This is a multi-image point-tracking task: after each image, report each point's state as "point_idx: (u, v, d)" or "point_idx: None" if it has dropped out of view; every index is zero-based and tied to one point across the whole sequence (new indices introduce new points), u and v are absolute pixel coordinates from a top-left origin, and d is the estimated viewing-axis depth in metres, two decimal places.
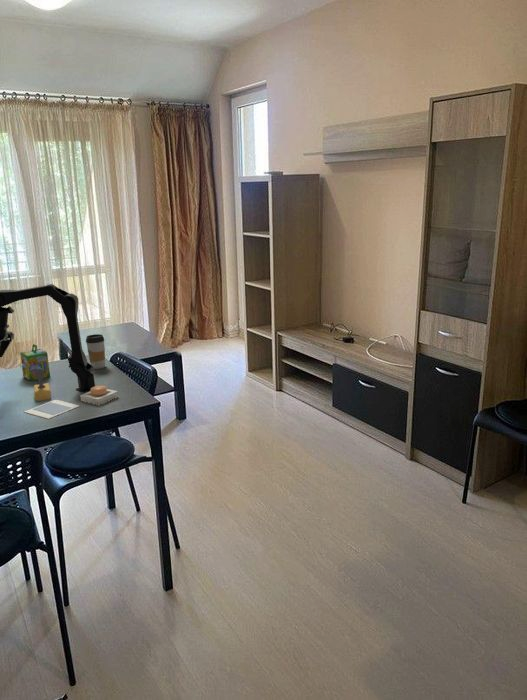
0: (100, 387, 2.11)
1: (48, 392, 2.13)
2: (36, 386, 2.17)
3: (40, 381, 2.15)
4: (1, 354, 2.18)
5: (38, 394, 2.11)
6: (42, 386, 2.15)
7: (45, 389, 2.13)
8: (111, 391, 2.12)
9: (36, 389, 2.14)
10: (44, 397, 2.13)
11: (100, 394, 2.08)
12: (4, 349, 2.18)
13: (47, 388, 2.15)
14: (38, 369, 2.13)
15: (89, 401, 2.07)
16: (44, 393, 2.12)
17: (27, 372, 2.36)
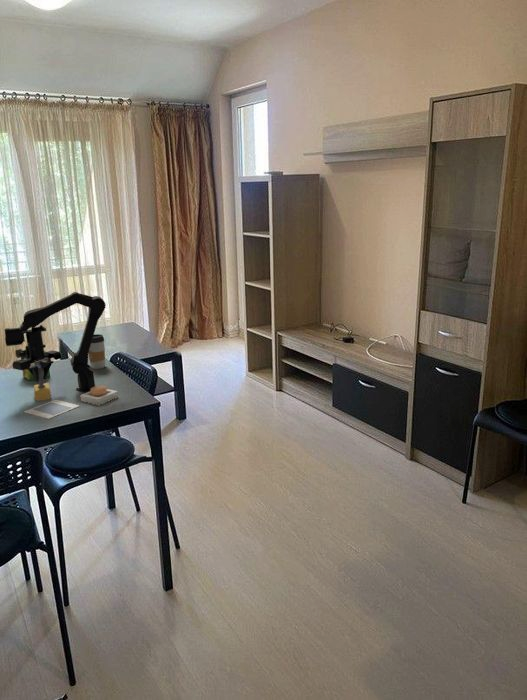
0: (100, 387, 2.11)
1: (48, 392, 2.13)
2: (36, 386, 2.17)
3: (40, 381, 2.15)
4: (44, 376, 2.16)
5: (38, 394, 2.11)
6: (42, 386, 2.15)
7: (45, 389, 2.13)
8: (111, 391, 2.12)
9: (36, 389, 2.13)
10: (44, 397, 2.13)
11: (100, 394, 2.08)
12: (45, 371, 2.15)
13: (47, 388, 2.15)
14: (38, 369, 2.13)
15: (89, 401, 2.07)
16: (44, 393, 2.12)
17: (27, 372, 2.36)
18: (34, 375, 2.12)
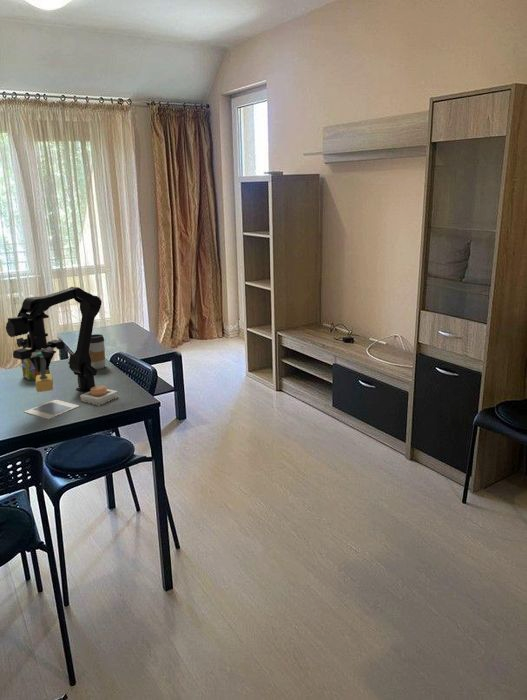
0: (100, 387, 2.11)
1: (50, 383, 2.03)
2: (38, 376, 2.08)
3: (42, 371, 2.05)
4: (46, 366, 2.06)
5: (39, 385, 2.02)
6: (44, 376, 2.05)
7: (47, 380, 2.04)
8: (111, 391, 2.12)
9: (37, 380, 2.04)
10: (46, 388, 2.03)
11: (100, 394, 2.08)
12: (47, 361, 2.05)
13: (49, 379, 2.05)
14: (40, 358, 2.03)
15: (89, 401, 2.07)
16: (46, 384, 2.02)
17: (27, 372, 2.36)
18: (36, 365, 2.02)
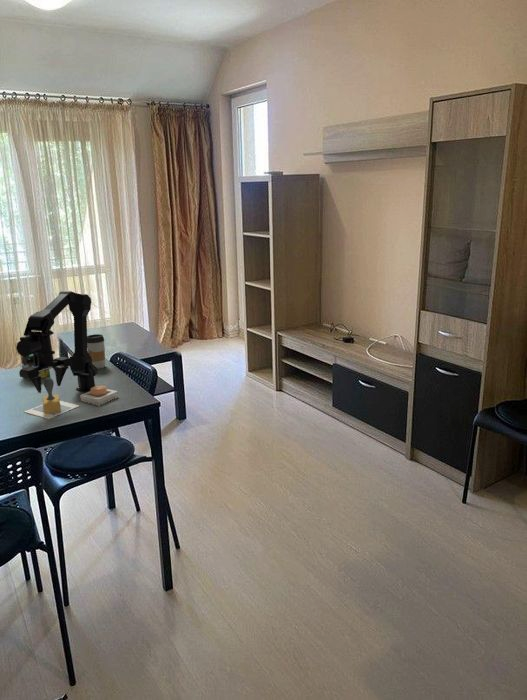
0: (100, 387, 2.11)
1: (58, 404, 1.98)
2: (45, 397, 2.03)
3: (49, 392, 2.00)
4: (58, 382, 2.03)
5: (47, 407, 1.97)
6: (51, 397, 2.00)
7: (54, 401, 1.99)
8: (111, 391, 2.12)
9: (45, 401, 1.99)
10: (53, 409, 1.98)
11: (100, 394, 2.08)
12: (60, 377, 2.02)
13: (57, 400, 2.00)
14: (47, 379, 1.98)
15: (89, 401, 2.07)
16: (54, 405, 1.98)
17: None
18: (37, 386, 1.95)
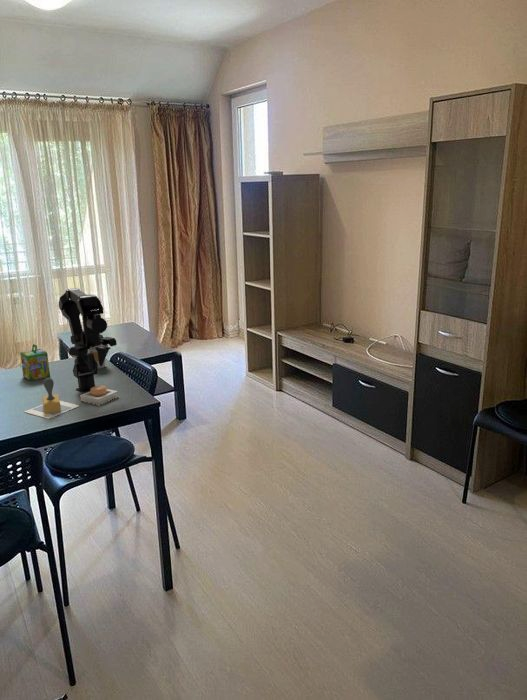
0: (100, 387, 2.11)
1: (58, 404, 1.98)
2: (45, 397, 2.03)
3: (49, 392, 2.00)
4: (101, 362, 2.09)
5: (47, 407, 1.97)
6: (51, 397, 2.00)
7: (54, 401, 1.99)
8: (111, 391, 2.12)
9: (45, 401, 1.99)
10: (53, 409, 1.98)
11: (100, 394, 2.08)
12: (102, 357, 2.08)
13: (57, 400, 2.00)
14: (47, 379, 1.98)
15: (89, 401, 2.07)
16: (54, 405, 1.98)
17: (27, 372, 2.36)
18: (88, 362, 2.04)
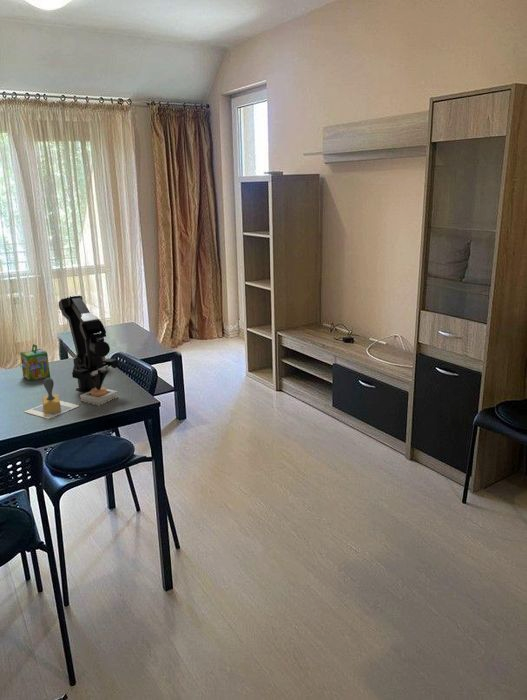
0: None
1: (58, 404, 1.98)
2: (45, 397, 2.03)
3: (49, 392, 2.00)
4: None
5: (47, 407, 1.97)
6: (51, 397, 2.00)
7: (54, 401, 1.99)
8: (111, 391, 2.12)
9: (45, 401, 1.99)
10: (53, 409, 1.98)
11: (100, 395, 2.08)
12: (100, 381, 2.09)
13: (57, 400, 2.00)
14: (47, 379, 1.98)
15: (89, 401, 2.07)
16: (54, 405, 1.98)
17: (27, 372, 2.36)
18: (96, 383, 2.08)
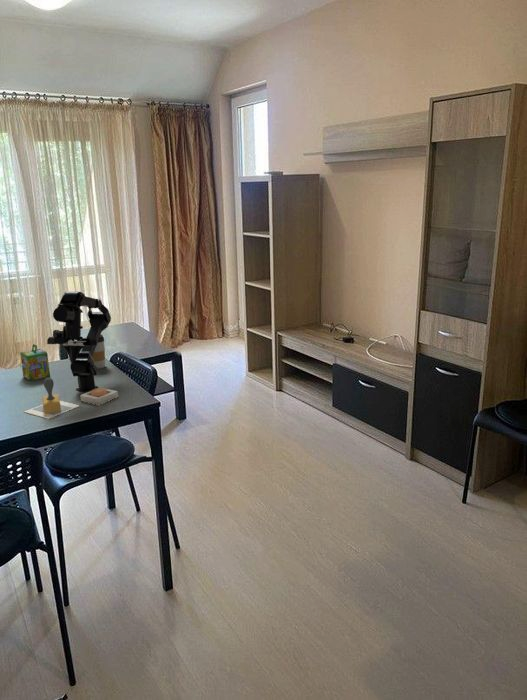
0: (100, 389, 2.11)
1: (58, 404, 1.98)
2: (45, 397, 2.03)
3: (49, 392, 2.00)
4: None
5: (47, 407, 1.97)
6: (51, 397, 2.00)
7: (54, 401, 1.99)
8: (111, 391, 2.12)
9: (45, 401, 1.99)
10: (53, 409, 1.98)
11: (100, 396, 2.08)
12: (75, 354, 2.10)
13: (57, 400, 2.00)
14: (47, 379, 1.98)
15: (89, 401, 2.07)
16: (54, 405, 1.98)
17: (27, 372, 2.36)
18: (70, 355, 2.09)
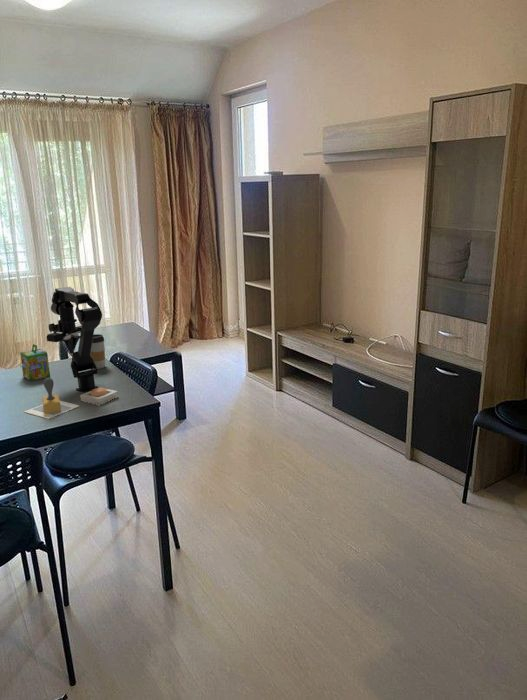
0: (100, 389, 2.11)
1: (58, 404, 1.98)
2: (45, 397, 2.03)
3: (49, 392, 2.00)
4: None
5: (47, 407, 1.97)
6: (51, 397, 2.00)
7: (54, 401, 1.99)
8: (111, 391, 2.12)
9: (45, 401, 1.99)
10: (53, 409, 1.98)
11: (100, 396, 2.08)
12: (73, 345, 2.28)
13: (57, 400, 2.00)
14: (47, 379, 1.98)
15: (89, 401, 2.07)
16: (54, 405, 1.98)
17: (27, 372, 2.36)
18: (69, 347, 2.27)
